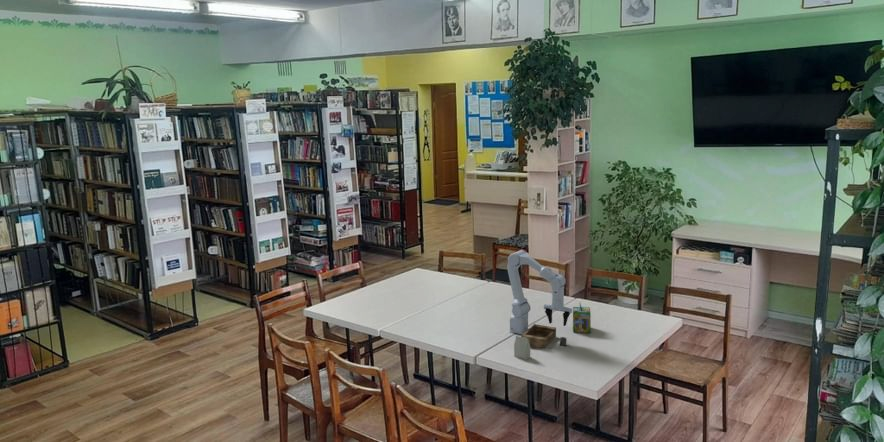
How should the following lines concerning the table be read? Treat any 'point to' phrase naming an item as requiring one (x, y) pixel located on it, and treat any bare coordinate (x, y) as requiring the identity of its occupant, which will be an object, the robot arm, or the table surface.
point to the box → (540, 335)
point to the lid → (562, 341)
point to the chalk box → (581, 319)
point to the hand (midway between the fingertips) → (557, 324)
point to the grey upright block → (522, 347)
